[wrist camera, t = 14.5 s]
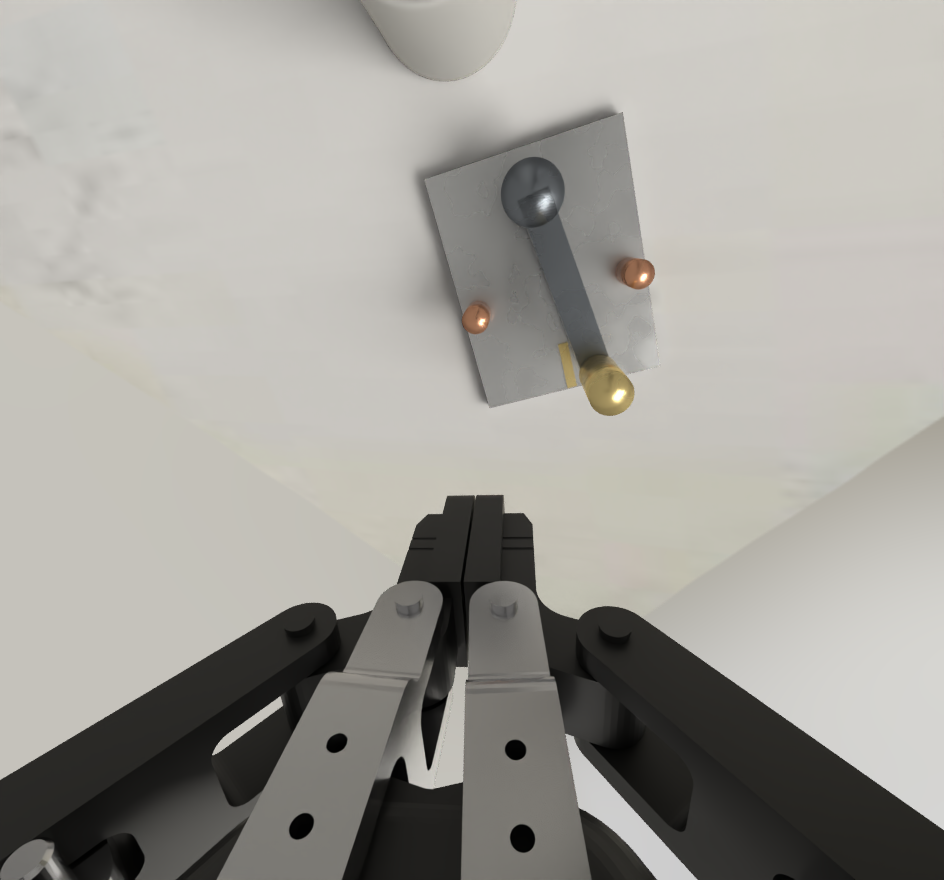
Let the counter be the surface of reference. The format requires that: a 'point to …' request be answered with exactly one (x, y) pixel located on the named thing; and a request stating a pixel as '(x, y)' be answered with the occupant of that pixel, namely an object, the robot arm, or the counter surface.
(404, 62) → the mug
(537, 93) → the counter surface
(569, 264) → the crank lever
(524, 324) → the crank base
